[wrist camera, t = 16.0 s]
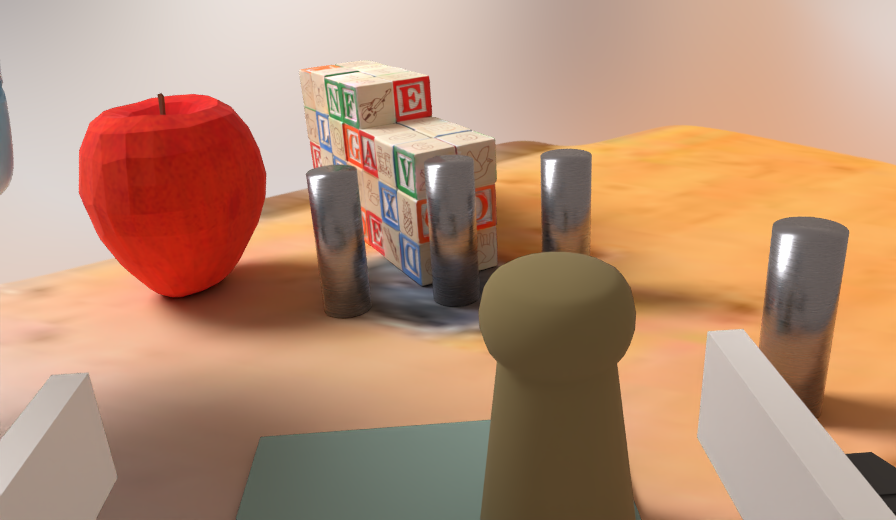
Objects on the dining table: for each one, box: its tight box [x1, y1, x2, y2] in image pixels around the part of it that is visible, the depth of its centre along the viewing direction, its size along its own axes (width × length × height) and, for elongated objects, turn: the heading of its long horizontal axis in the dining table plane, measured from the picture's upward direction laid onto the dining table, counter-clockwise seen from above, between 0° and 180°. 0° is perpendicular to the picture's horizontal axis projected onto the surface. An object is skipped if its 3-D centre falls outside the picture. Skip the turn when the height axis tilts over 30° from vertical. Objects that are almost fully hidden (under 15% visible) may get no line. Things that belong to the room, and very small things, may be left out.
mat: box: [236, 420, 641, 520], centre depth 31 cm, size 16×12×1 cm
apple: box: [79, 94, 266, 297], centre depth 51 cm, size 12×12×13 cm
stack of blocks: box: [299, 60, 497, 286], centre depth 59 cm, size 21×6×12 cm, turn 28°
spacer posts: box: [306, 149, 849, 419], centre depth 41 cm, size 25×18×9 cm
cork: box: [479, 252, 636, 520], centre depth 27 cm, size 6×6×11 cm
